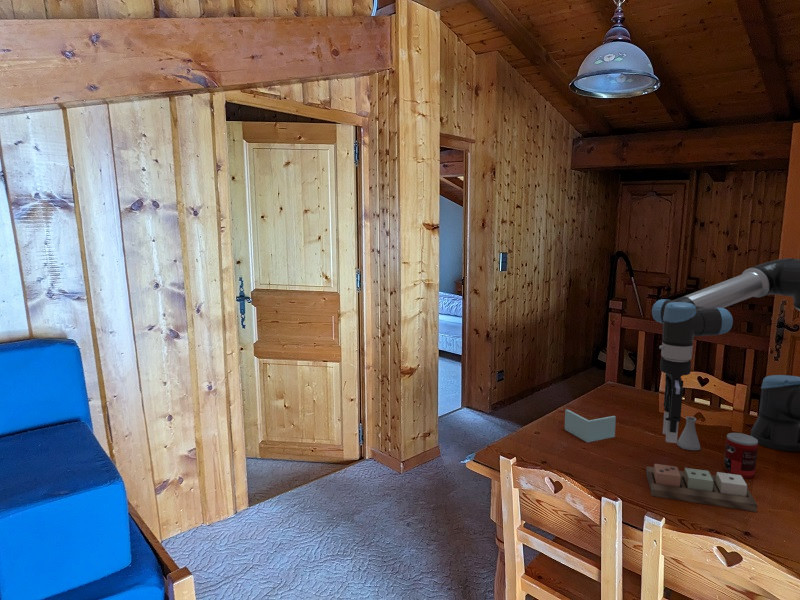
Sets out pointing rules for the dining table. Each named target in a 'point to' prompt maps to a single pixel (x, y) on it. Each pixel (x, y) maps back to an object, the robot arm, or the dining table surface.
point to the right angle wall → (589, 427)
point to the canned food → (740, 454)
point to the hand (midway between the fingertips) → (669, 437)
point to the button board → (700, 494)
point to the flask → (689, 436)
